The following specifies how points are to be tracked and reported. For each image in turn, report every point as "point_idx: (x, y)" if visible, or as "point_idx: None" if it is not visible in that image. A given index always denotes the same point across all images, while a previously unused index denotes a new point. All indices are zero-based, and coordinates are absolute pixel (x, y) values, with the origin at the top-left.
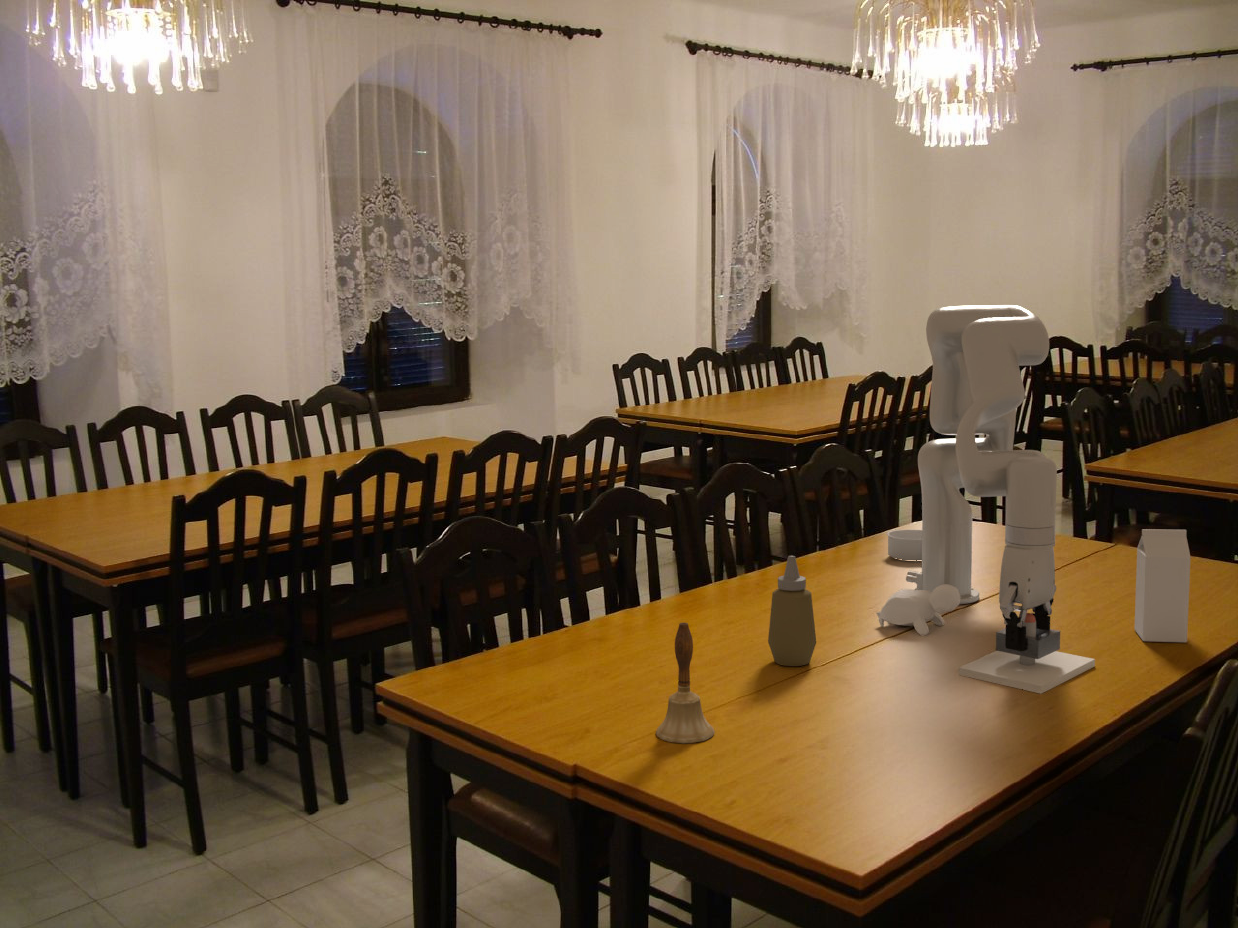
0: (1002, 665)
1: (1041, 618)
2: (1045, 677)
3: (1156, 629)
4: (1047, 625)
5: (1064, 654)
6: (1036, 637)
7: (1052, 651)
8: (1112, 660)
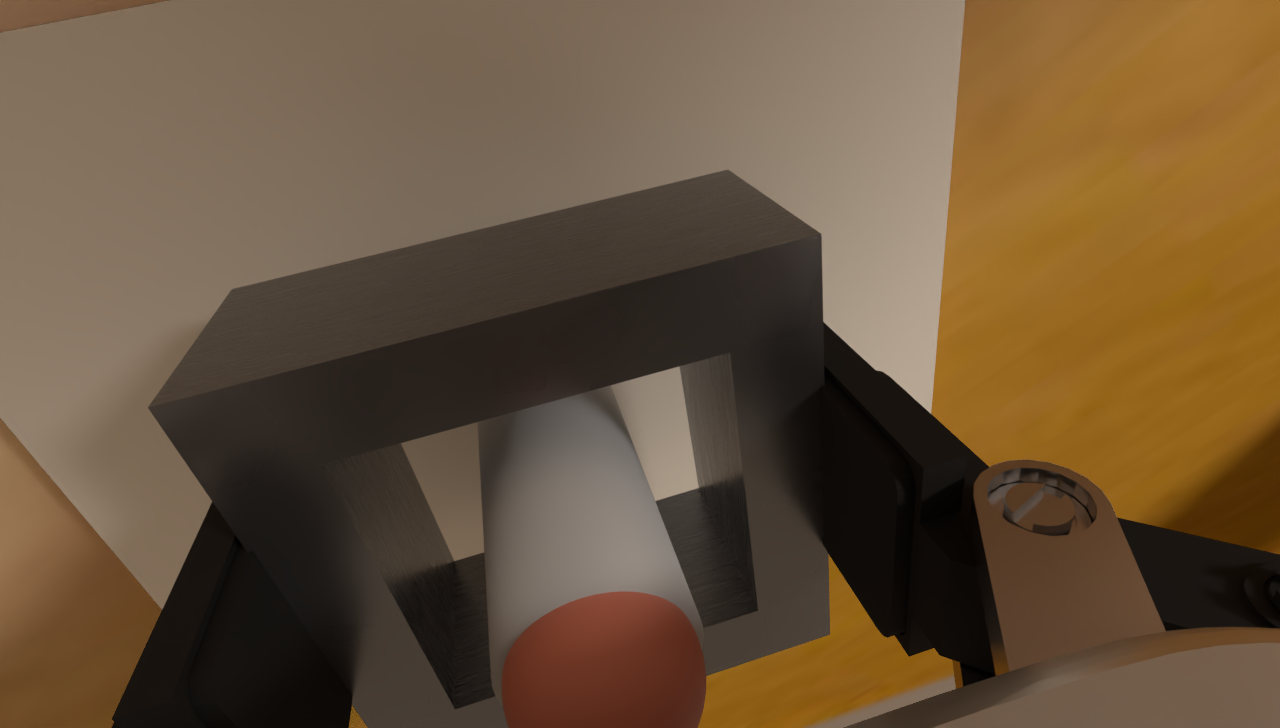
0: None
1: (875, 576)
2: None
3: None
4: (843, 568)
5: (903, 348)
6: (472, 708)
7: None
8: (1046, 434)
